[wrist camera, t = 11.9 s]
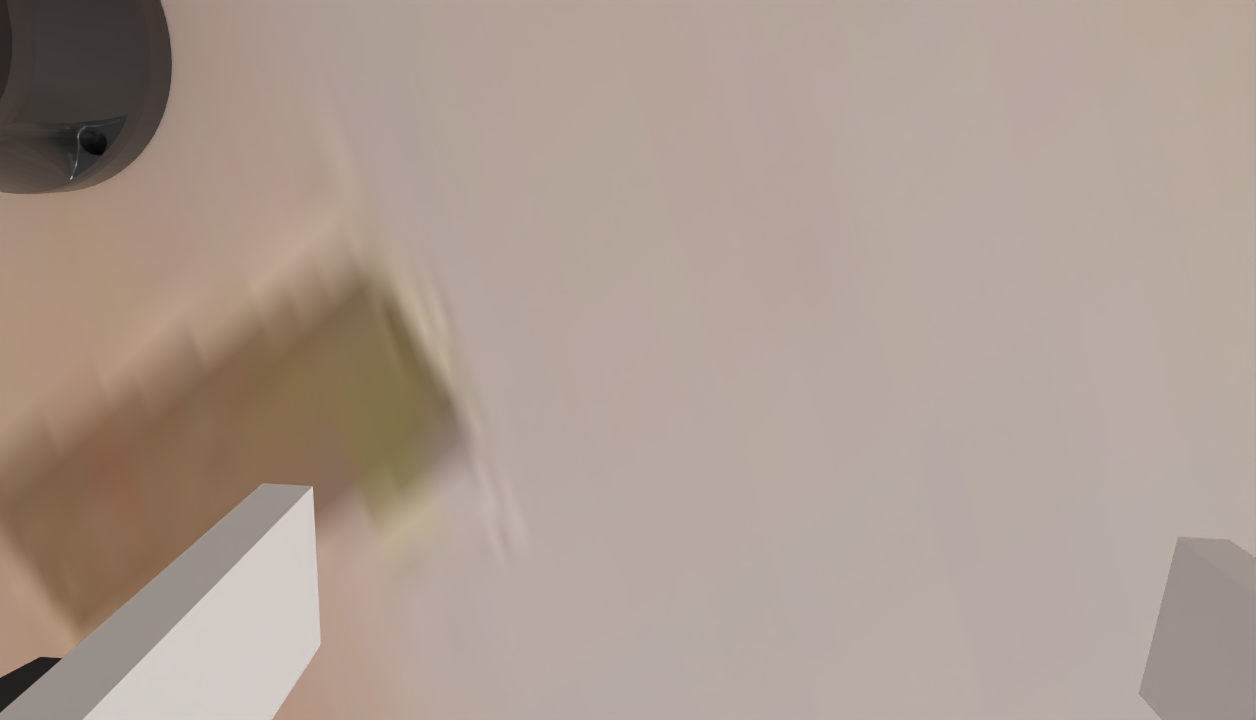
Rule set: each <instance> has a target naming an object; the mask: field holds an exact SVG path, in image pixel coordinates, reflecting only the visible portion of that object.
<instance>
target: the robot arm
mask: <svg viewBox="0 0 1256 720" xmlns="http://www.w3.org/2000/svg"><path fill="white" fill-rule="evenodd" d="M171 68H172V60H171V47H170V39H169V33H168V28H167V24H166V20H165V16H164V13H163V10H162V7H161V4H160V2H159V0H0V192H6V193H15V194H41V193H55V192H67V191H74V190H79V189H83V188H87V187H90V186H93V185H96V184H98V183H101V182H103V181H105V180H107V179H109V178H111V177H113V176H114V175H116V174H117V173H119V172H121V171H122V170H123V169H124V168H126V167H127V166H128V165H129V164H131V163H132V162H133V161H134V160H135V159H136V158H137V157H138V156H139V155H140V153H141V152H142V151H143V150H144V149H145V147H146V146H147V145H148V143H149V142H150V140H151V139H152V137H153V135H154V134H155V132H156V130H157V128H158V126H159V124H160V121H161V119H162V117H163V114H164V111H165V108H166V104H167V100H168V96H169V90H170V83H171ZM320 645H321V640H320V620H319V601H318V581H317V562H316V542H315V523H314V503H313V486H298V485H281V484H264V483H263V484H261V485H260V486H259V487H258V488H257V489H256V490H255V491H253V492H252V493H251V494H250V495H249V496H248V497H247V498H245V499H244V500H243V501H242V502H241V503H240V504H238V505H237V506H236V507H235V508H234V509H233V510H232V511H230V512H229V513H228V514H227V515H226V516H225V517H224V518H222V519H221V520H220V521H219V522H218V523H217V524H216V525H214V526H213V527H212V528H211V529H210V530H209V531H208V532H206V533H205V534H204V535H203V536H202V537H201V538H200V539H198V540H197V541H196V542H195V543H194V544H193V545H192V546H190V547H189V548H188V549H187V550H186V551H185V552H184V553H182V554H181V555H180V556H179V557H178V558H177V559H176V560H174V561H173V562H172V563H171V564H170V565H169V566H168V567H166V568H165V569H164V570H163V571H162V572H161V573H160V574H158V575H157V576H156V577H155V578H154V579H153V580H152V581H150V582H149V583H148V584H147V585H146V586H145V587H144V588H142V589H141V590H140V591H139V592H138V593H137V594H136V595H134V596H133V597H132V598H131V599H130V600H129V601H128V602H126V603H125V604H124V605H123V606H122V607H121V608H120V609H118V610H117V611H116V612H115V613H114V614H113V615H112V616H110V617H109V618H108V619H107V620H106V621H105V622H104V623H102V624H101V625H100V626H99V627H98V628H97V629H96V630H94V631H93V632H92V633H91V634H90V635H89V636H88V637H86V638H85V639H84V640H83V641H82V642H81V643H80V644H78V645H77V646H76V647H75V648H74V649H73V650H72V651H70V652H69V653H68V654H67V655H66V656H65V657H64V658H50V657H39V658H37V659H36V660H34V661H32V662H30V663H28V664H26V665H24V666H22V667H20V668H18V669H16V670H14V671H13V672H11V673H9V674H7V675H5V676H3V677H1V678H0V720H272V718H273V717H274V715H275V714H276V712H277V711H278V709H279V708H280V706H281V705H282V703H283V702H284V700H285V699H286V697H287V695H288V694H289V692H290V691H291V689H292V688H293V686H294V685H295V683H296V682H297V680H298V679H299V677H300V676H301V674H302V673H303V671H304V670H305V668H306V666H307V665H308V663H309V662H310V660H311V659H312V657H313V656H314V654H315V653H316V651H317V650H318V648H319V647H320ZM1139 695H1140V696H1141V697H1142V698H1143V699H1144V700H1145V701H1146V702H1147V703H1148V705H1149V706H1150V707H1151V708H1152V709H1153V710H1154V711H1155V712H1156V713H1157V715H1158V716H1159V717H1160V718H1161V719H1162V720H1256V558H1255V557H1254V556H1252V555H1251V554H1249V553H1248V552H1246V551H1245V550H1243V549H1242V548H1241V547H1239V546H1238V545H1236V544H1235V543H1233V542H1232V541H1230V540H1224V539H1206V538H1189V537H1178V539H1177V543H1176V547H1175V551H1174V555H1173V559H1172V563H1171V567H1170V571H1169V575H1168V579H1167V583H1166V587H1165V591H1164V595H1163V599H1162V603H1161V607H1160V611H1159V615H1158V619H1157V623H1156V627H1155V631H1154V635H1153V639H1152V643H1151V647H1150V651H1149V655H1148V659H1147V663H1146V667H1145V671H1144V675H1143V679H1142V683H1141V687H1140V691H1139Z"/></svg>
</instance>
